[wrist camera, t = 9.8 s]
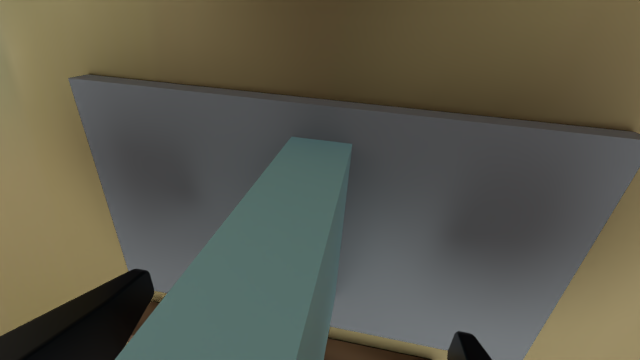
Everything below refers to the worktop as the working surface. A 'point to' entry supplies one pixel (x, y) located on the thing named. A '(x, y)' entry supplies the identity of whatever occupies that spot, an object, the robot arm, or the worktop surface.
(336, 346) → the tray
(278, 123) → the mat
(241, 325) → the teal flat block
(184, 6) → the worktop surface
